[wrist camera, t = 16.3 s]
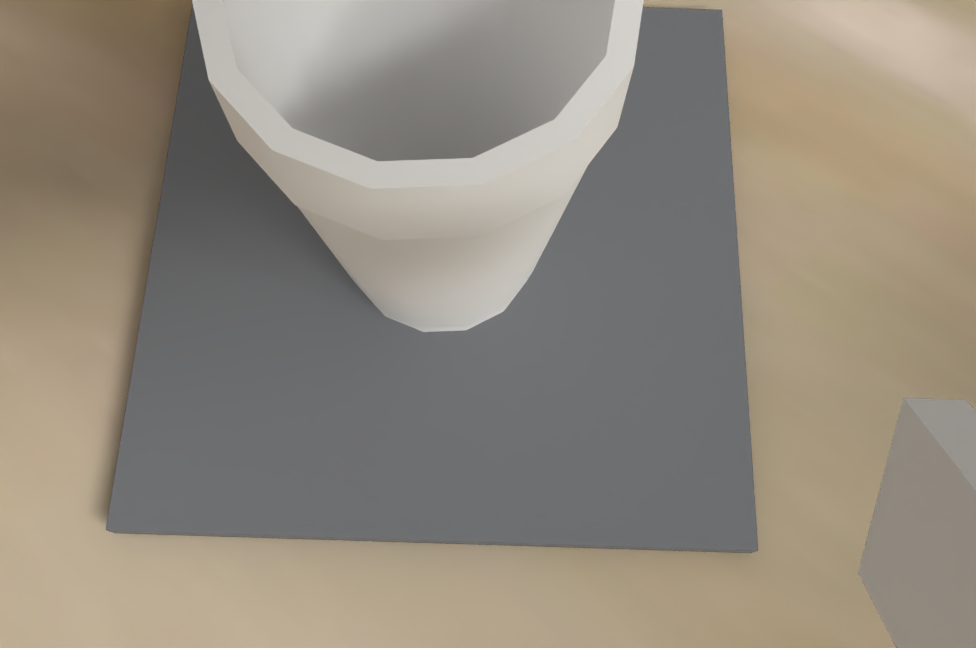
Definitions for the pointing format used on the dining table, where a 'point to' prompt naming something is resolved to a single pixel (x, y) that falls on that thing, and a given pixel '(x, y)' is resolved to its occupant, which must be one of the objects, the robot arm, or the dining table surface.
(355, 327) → the rubber mat
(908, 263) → the dining table surface
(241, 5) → the foam cup
